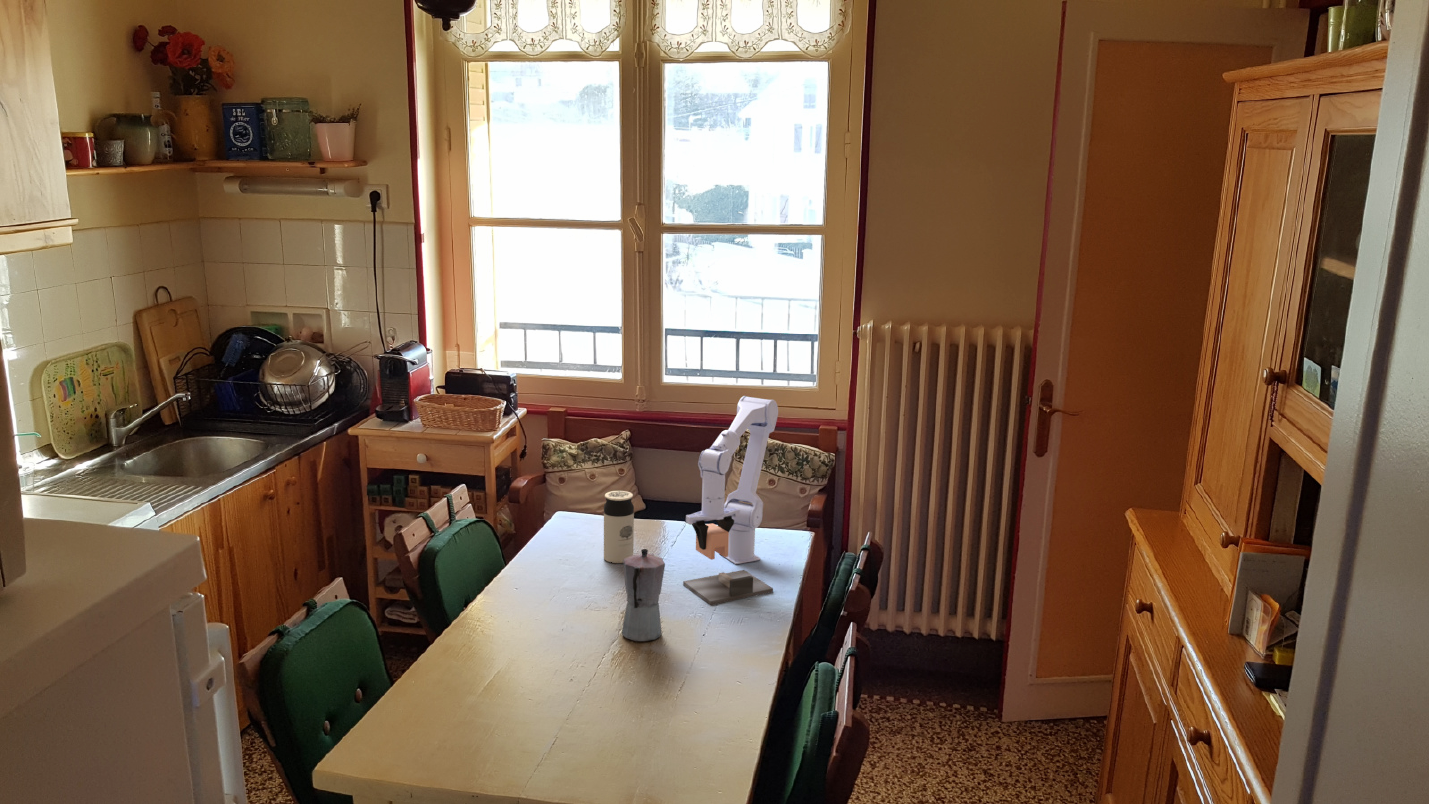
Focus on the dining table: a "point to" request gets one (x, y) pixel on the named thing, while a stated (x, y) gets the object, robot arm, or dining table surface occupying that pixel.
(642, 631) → the moka pot
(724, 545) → the slotted block
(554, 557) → the dining table surface
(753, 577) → the rail board
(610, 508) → the travel mug
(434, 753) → the dining table surface
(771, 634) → the dining table surface
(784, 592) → the dining table surface
